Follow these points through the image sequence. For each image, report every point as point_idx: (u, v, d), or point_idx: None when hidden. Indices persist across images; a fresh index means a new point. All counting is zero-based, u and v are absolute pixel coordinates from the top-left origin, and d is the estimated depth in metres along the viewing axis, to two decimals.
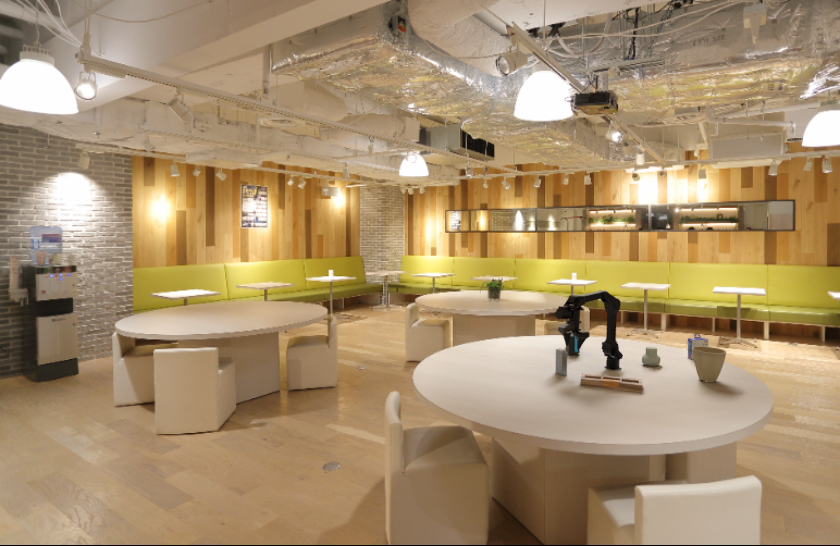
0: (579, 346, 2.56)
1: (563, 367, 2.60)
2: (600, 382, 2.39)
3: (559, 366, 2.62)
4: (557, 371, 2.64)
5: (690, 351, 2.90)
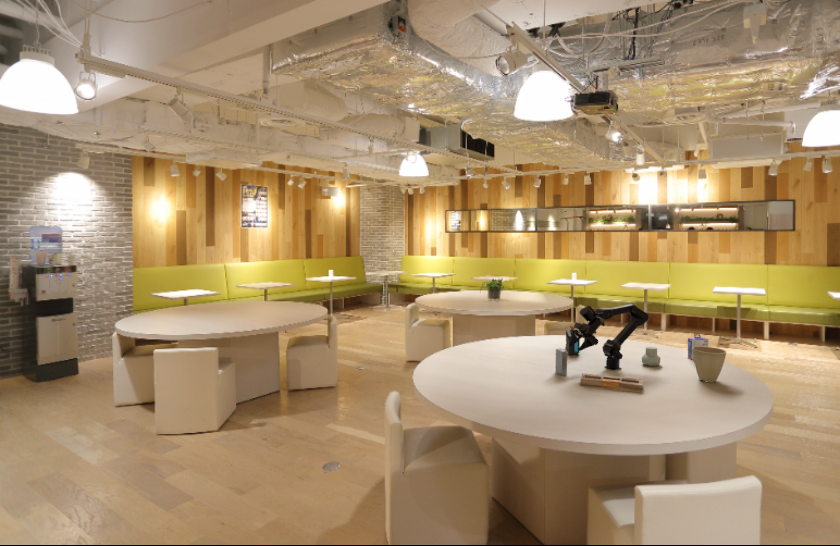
0: (582, 347, 2.60)
1: (563, 367, 2.60)
2: (600, 382, 2.39)
3: (559, 366, 2.62)
4: (557, 371, 2.64)
5: (690, 351, 2.90)
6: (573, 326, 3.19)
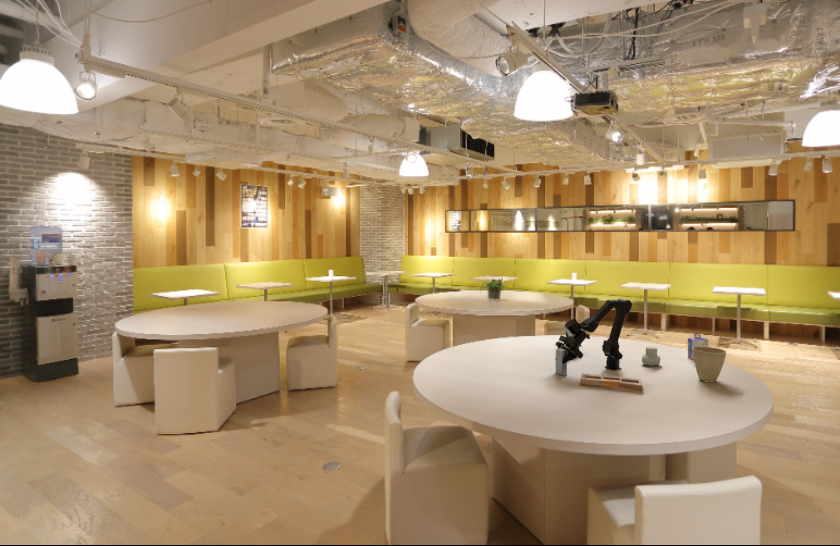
0: (565, 360, 2.59)
1: (563, 367, 2.60)
2: (600, 382, 2.39)
3: (559, 366, 2.62)
4: (557, 371, 2.64)
5: (690, 351, 2.90)
6: None
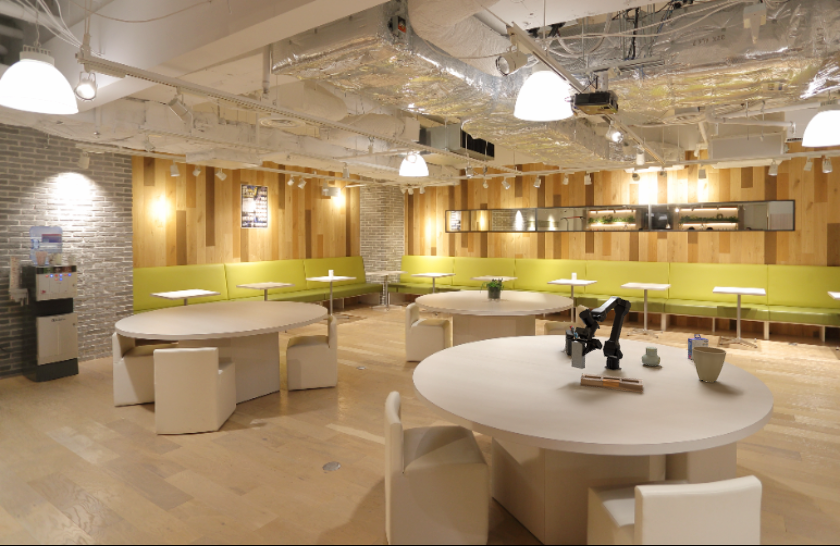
0: (585, 353, 2.48)
1: (582, 360, 2.49)
2: (600, 382, 2.39)
3: (577, 359, 2.50)
4: (574, 365, 2.52)
5: (690, 351, 2.90)
6: (573, 326, 3.19)
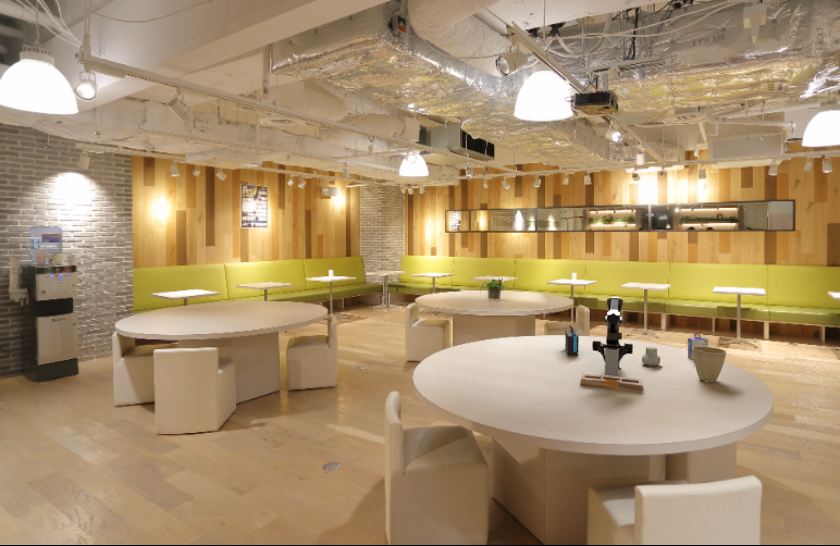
0: (620, 359, 2.39)
1: None
2: (600, 382, 2.39)
3: (612, 366, 2.40)
4: (608, 373, 2.41)
5: (690, 351, 2.90)
6: (572, 326, 3.19)
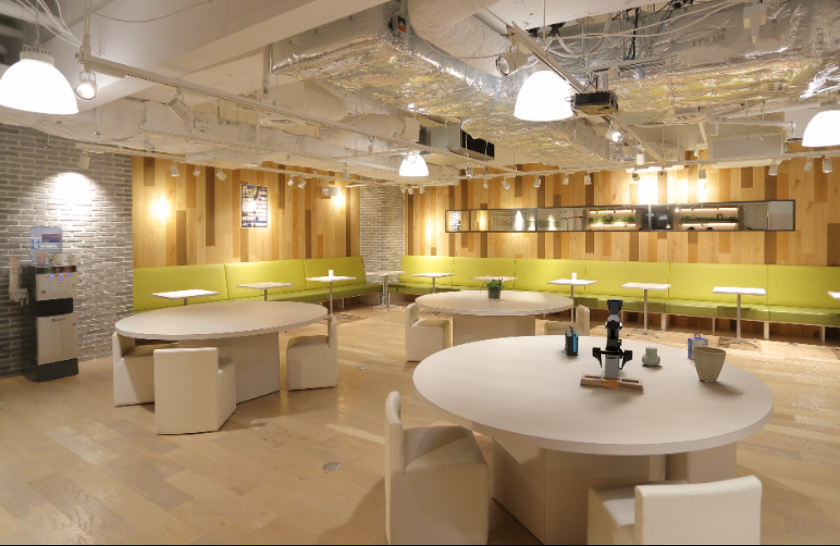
0: (623, 366, 2.39)
1: None
2: (600, 382, 2.39)
3: (612, 376, 2.40)
4: None
5: (690, 351, 2.90)
6: (572, 326, 3.19)
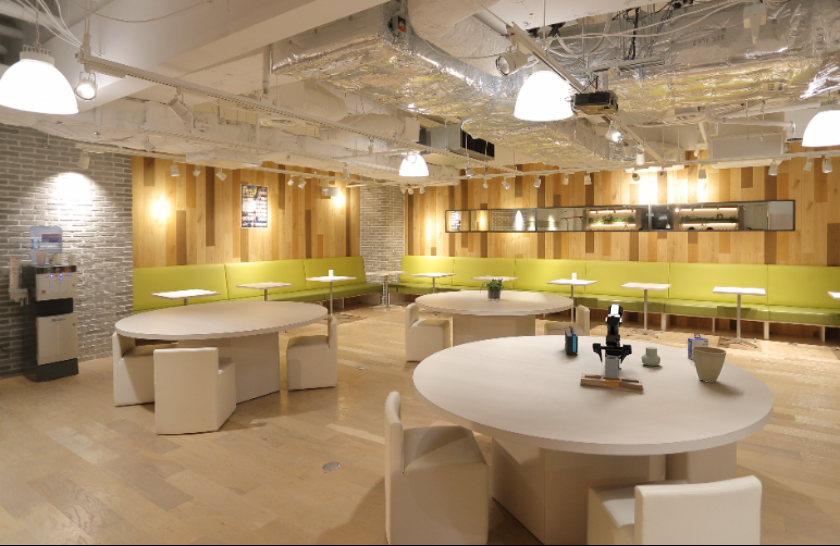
0: (622, 360, 2.48)
1: (617, 376, 2.40)
2: (600, 382, 2.39)
3: (612, 376, 2.40)
4: None
5: (690, 351, 2.90)
6: (572, 326, 3.19)
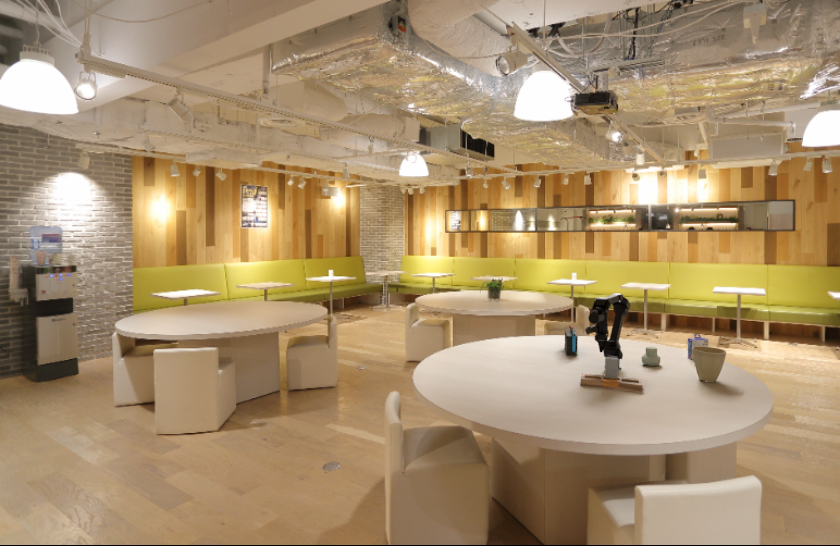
0: (600, 349, 2.56)
1: (617, 376, 2.40)
2: (600, 382, 2.39)
3: (612, 376, 2.40)
4: None
5: (690, 351, 2.90)
6: (572, 326, 3.19)
